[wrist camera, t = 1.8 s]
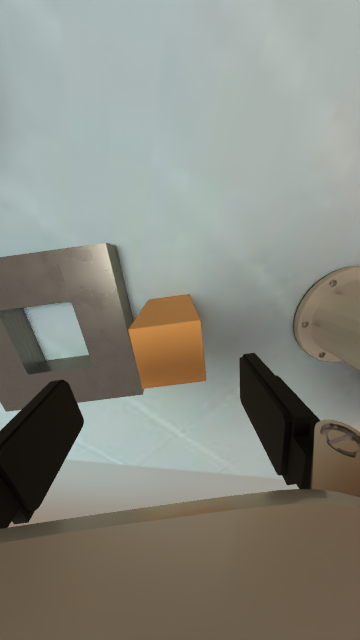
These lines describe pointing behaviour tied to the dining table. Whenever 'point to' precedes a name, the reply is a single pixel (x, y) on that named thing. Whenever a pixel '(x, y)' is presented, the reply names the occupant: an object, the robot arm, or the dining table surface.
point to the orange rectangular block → (168, 342)
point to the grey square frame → (93, 316)
